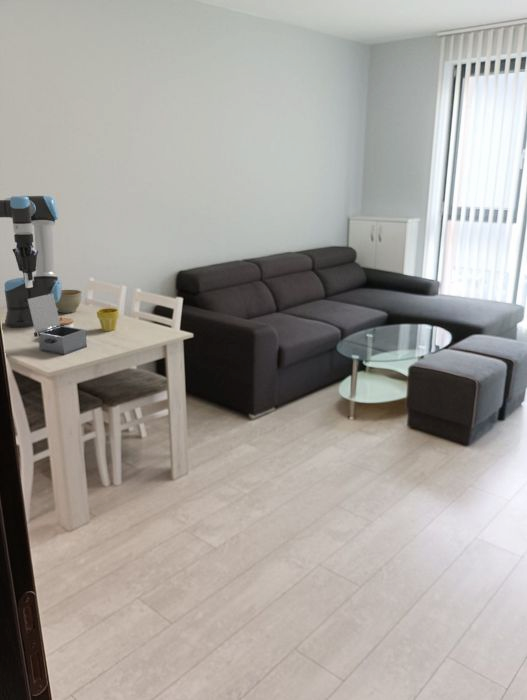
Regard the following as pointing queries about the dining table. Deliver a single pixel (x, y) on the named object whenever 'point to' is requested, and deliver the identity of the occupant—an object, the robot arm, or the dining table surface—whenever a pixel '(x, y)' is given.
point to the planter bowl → (69, 301)
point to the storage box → (62, 340)
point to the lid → (44, 313)
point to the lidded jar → (66, 322)
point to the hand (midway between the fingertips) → (29, 287)
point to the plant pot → (108, 318)
